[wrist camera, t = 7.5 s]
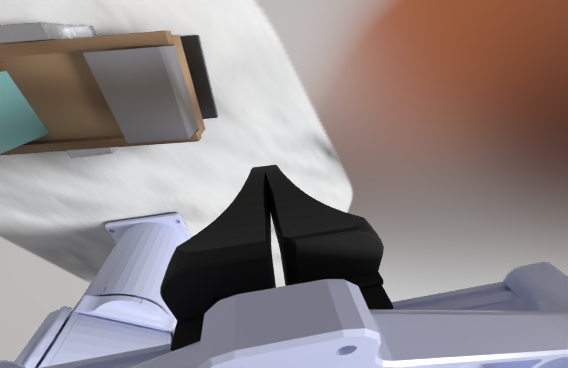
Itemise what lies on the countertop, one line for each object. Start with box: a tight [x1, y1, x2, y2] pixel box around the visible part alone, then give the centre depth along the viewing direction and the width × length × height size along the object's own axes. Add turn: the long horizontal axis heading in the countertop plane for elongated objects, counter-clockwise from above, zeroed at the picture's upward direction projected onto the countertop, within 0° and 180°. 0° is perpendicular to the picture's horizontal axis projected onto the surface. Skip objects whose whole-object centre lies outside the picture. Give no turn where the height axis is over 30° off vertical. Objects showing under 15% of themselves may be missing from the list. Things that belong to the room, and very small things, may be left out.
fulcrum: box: [0, 23, 218, 158], centre depth 16 cm, size 8×19×3 cm, turn 94°
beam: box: [0, 31, 205, 155], centre depth 14 cm, size 6×18×4 cm, turn 94°
